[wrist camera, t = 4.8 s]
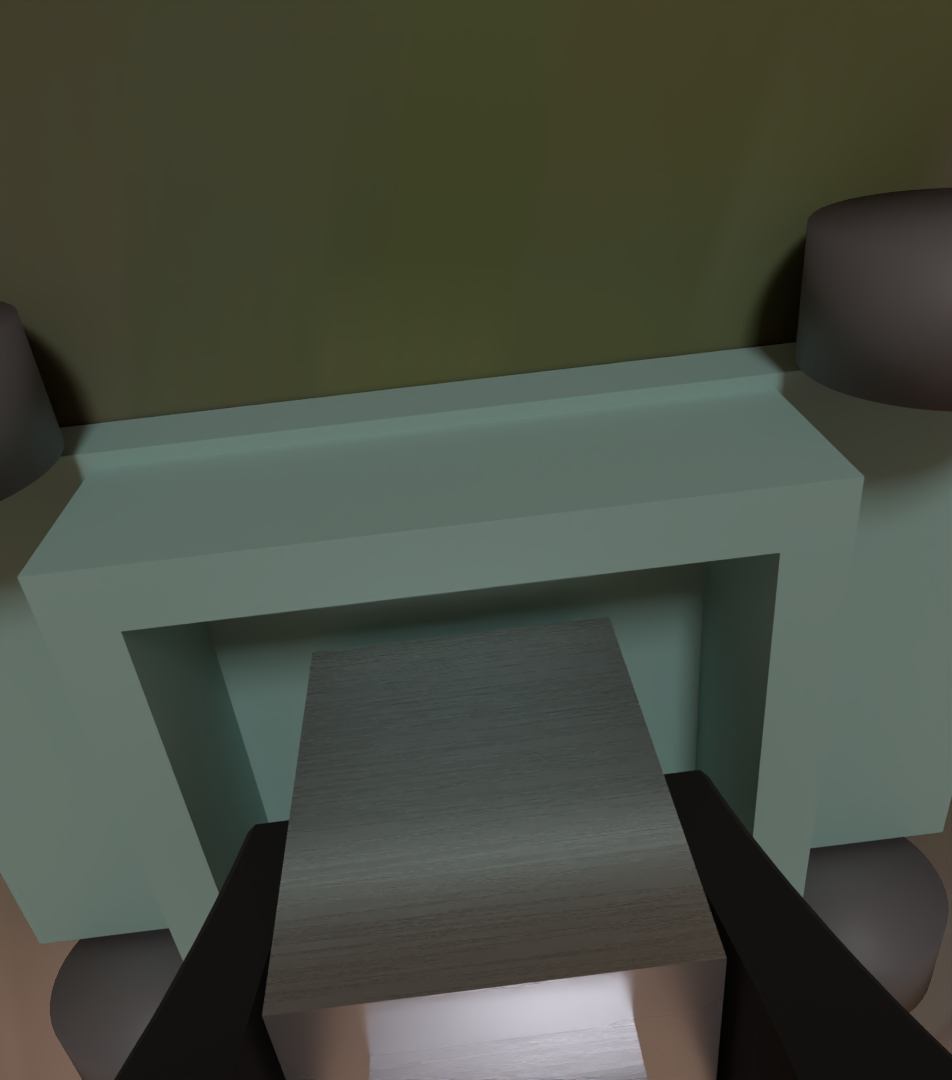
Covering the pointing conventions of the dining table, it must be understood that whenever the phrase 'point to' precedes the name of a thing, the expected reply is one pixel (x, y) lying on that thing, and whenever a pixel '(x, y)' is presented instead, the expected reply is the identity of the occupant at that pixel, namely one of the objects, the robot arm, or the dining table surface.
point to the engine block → (488, 872)
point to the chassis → (494, 603)
